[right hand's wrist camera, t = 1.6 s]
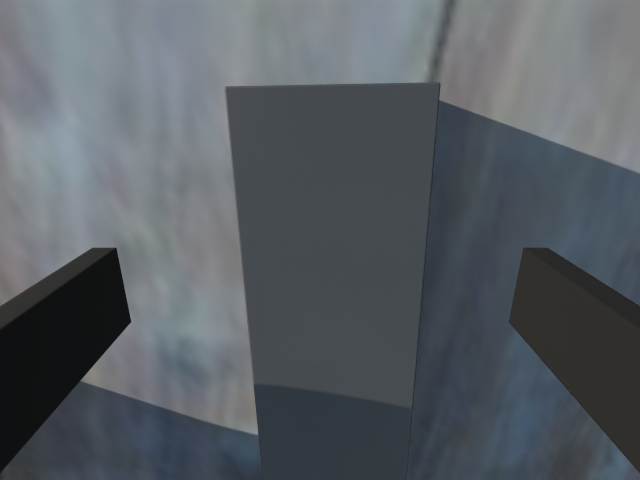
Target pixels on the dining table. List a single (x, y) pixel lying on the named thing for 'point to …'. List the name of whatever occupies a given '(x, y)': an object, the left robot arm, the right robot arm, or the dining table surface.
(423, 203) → the wide beam
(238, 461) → the dining table surface
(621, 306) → the right robot arm
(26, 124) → the dining table surface
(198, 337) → the dining table surface
